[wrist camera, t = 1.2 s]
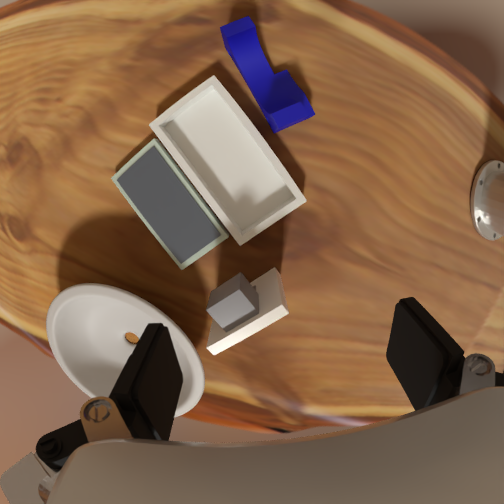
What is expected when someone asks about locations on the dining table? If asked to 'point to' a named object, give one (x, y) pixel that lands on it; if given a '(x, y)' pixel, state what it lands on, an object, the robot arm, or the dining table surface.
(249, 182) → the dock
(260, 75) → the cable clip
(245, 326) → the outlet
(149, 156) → the phone
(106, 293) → the soup bowl
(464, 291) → the dining table surface
